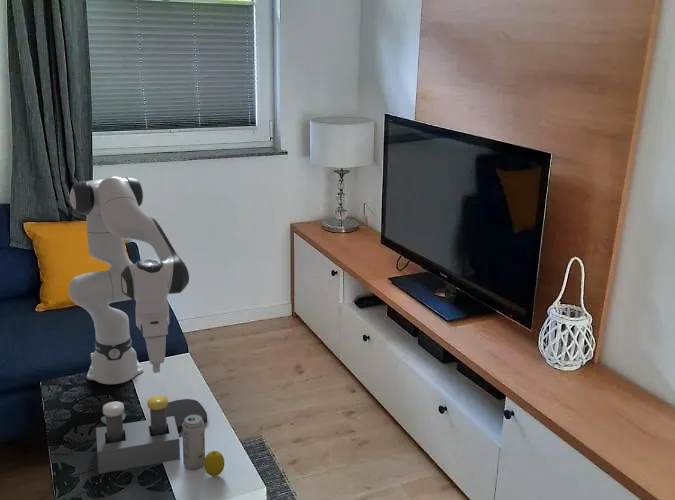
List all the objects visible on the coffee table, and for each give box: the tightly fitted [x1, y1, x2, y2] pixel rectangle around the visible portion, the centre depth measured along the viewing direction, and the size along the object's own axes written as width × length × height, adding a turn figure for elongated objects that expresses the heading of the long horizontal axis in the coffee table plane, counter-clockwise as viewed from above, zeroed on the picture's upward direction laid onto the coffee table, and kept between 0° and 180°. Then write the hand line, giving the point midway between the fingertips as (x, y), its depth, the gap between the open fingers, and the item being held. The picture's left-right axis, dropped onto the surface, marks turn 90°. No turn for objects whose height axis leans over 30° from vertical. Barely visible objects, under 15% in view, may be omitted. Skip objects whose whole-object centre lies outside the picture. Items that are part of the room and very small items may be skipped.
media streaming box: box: [166, 398, 208, 434], centre depth 209 cm, size 15×15×3 cm
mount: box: [95, 416, 181, 475], centre depth 190 cm, size 12×22×7 cm, turn 110°
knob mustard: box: [147, 394, 169, 436], centre depth 190 cm, size 6×6×11 cm
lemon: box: [203, 450, 225, 477], centre depth 182 cm, size 6×6×8 cm
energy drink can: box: [181, 414, 206, 471], centre depth 185 cm, size 6×6×15 cm
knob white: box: [102, 400, 125, 443], centre depth 186 cm, size 6×6×11 cm
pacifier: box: [100, 412, 127, 425], centre depth 205 cm, size 7×6×6 cm
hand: (154, 363), depth 184 cm, fingers open, 8 cm apart
